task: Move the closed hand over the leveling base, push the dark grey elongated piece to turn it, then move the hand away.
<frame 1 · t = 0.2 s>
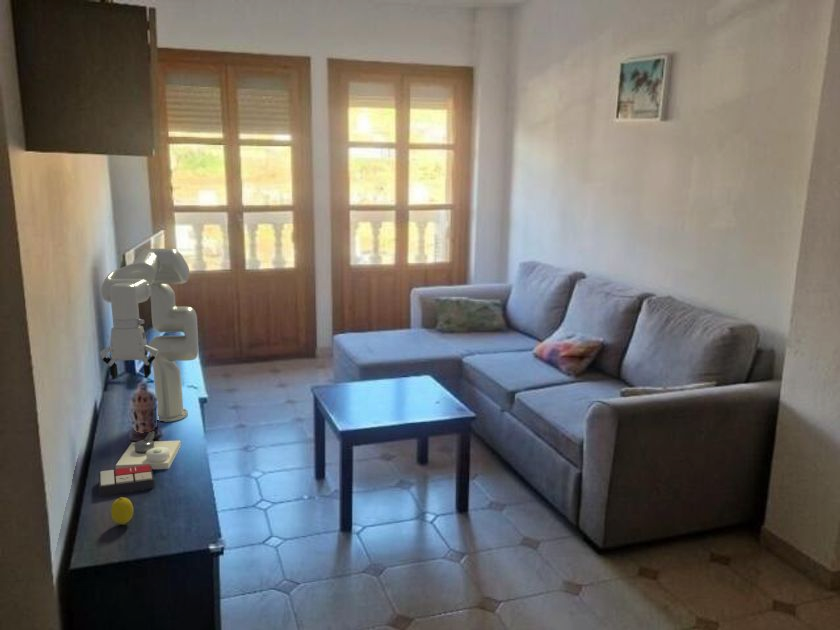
hand: (131, 377, 216), 30 cm above the tv stand, tool pointing down, fingers open, 9 cm apart
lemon: (123, 525, 187), on the tv stand
leveling base: (149, 458, 228), on the tv stand
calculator: (126, 486, 210), on the tv stand
dark grey elongated piece: (147, 442, 233), point 3 cm above the tv stand, hinge at 0.0°
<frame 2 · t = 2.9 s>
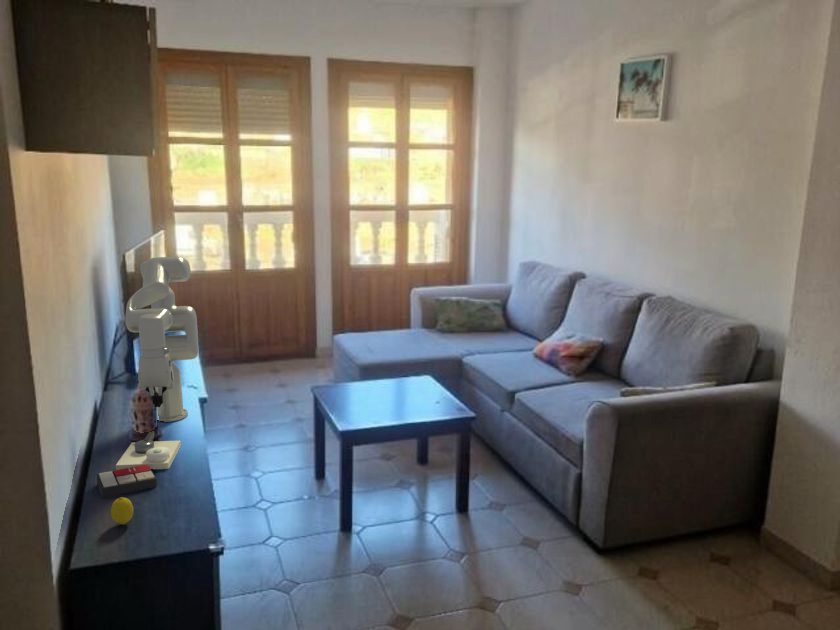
hand: (158, 405, 227), 17 cm above the tv stand, tool pointing down, fingers closed
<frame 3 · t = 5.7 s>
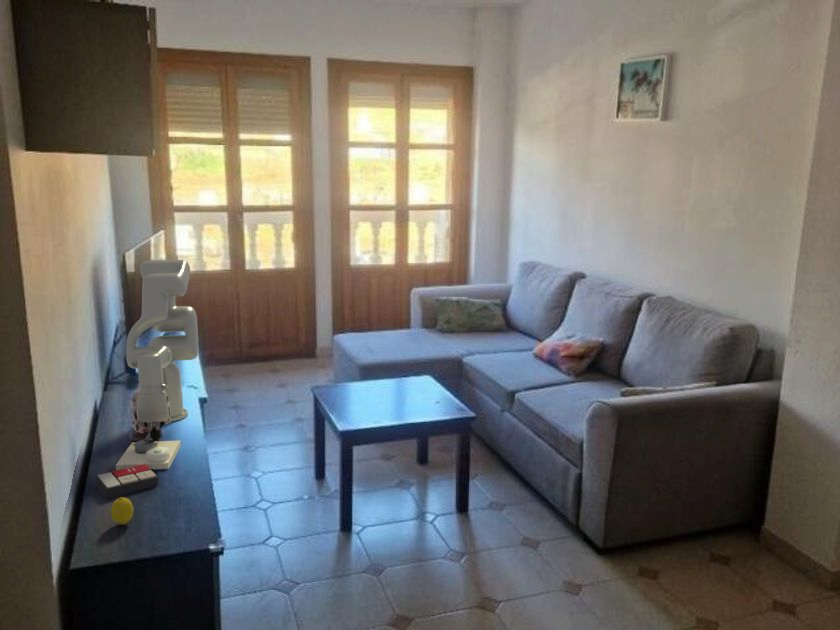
hand: (156, 439, 235), 3 cm above the tv stand, tool pointing down, fingers closed
dark grey elongated piece: (147, 442, 233), point 3 cm above the tv stand, hinge at 0.0°, touching gripper
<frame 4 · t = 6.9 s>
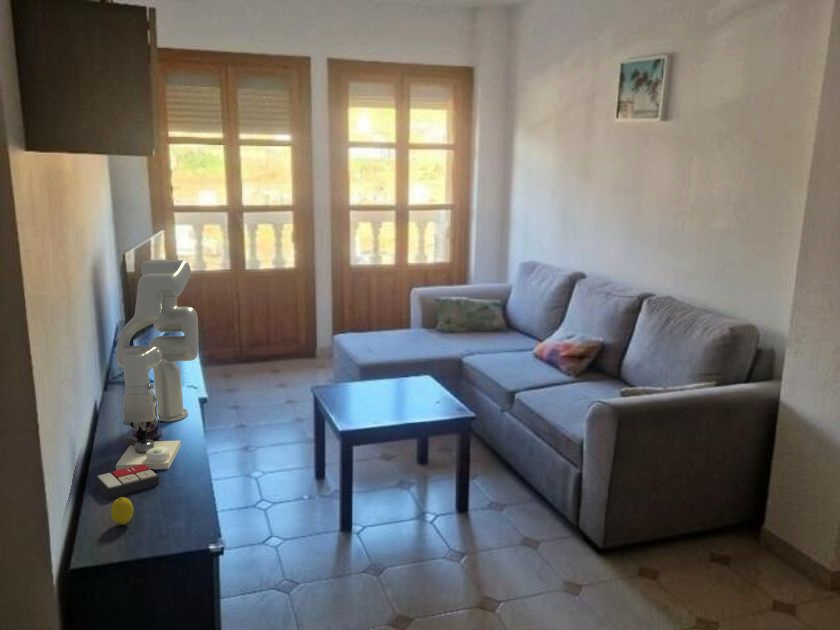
hand: (142, 440, 234), 3 cm above the tv stand, tool pointing down, fingers closed
dark grey elongated piece: (138, 443, 231), point 3 cm above the tv stand, hinge at 48.4°, touching gripper
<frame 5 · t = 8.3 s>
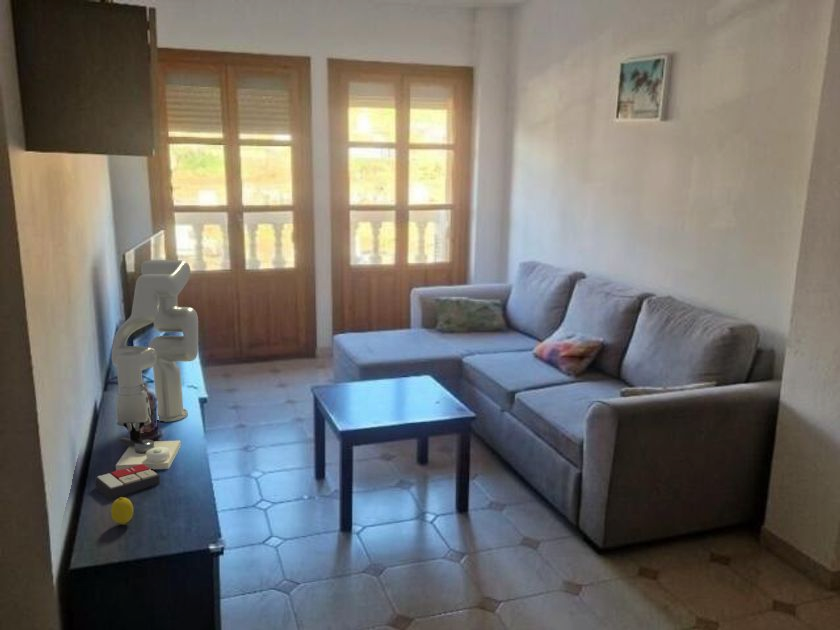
hand: (135, 440, 234), 3 cm above the tv stand, tool pointing down, fingers closed
dark grey elongated piece: (136, 444, 231), point 3 cm above the tv stand, hinge at 59.2°
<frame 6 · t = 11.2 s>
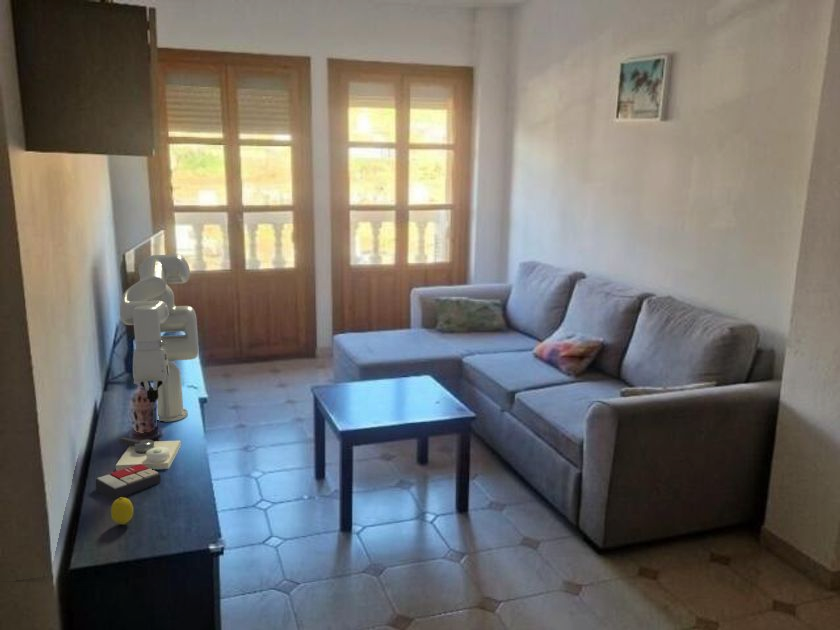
hand: (153, 401, 219), 21 cm above the tv stand, tool pointing down, fingers closed
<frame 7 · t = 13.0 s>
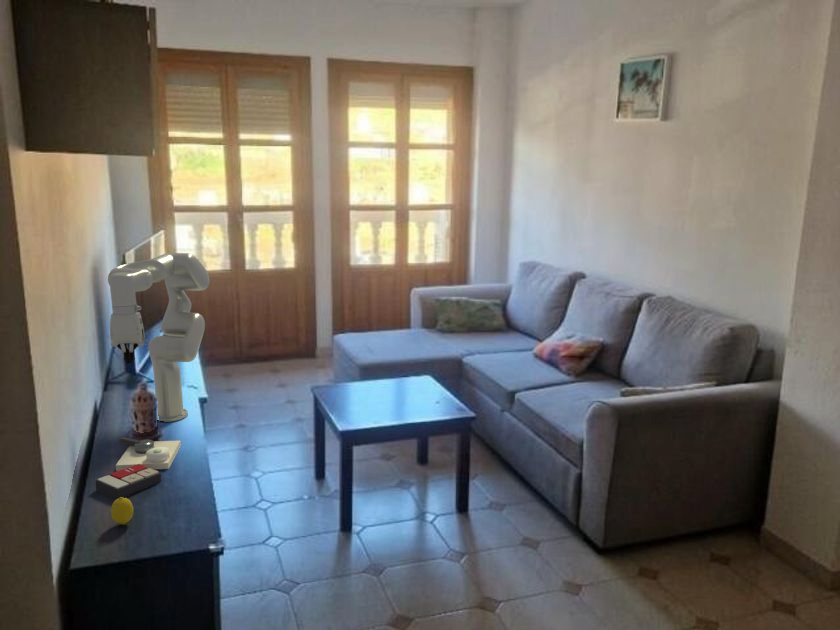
hand: (129, 362, 234), 29 cm above the tv stand, tool pointing down, fingers closed
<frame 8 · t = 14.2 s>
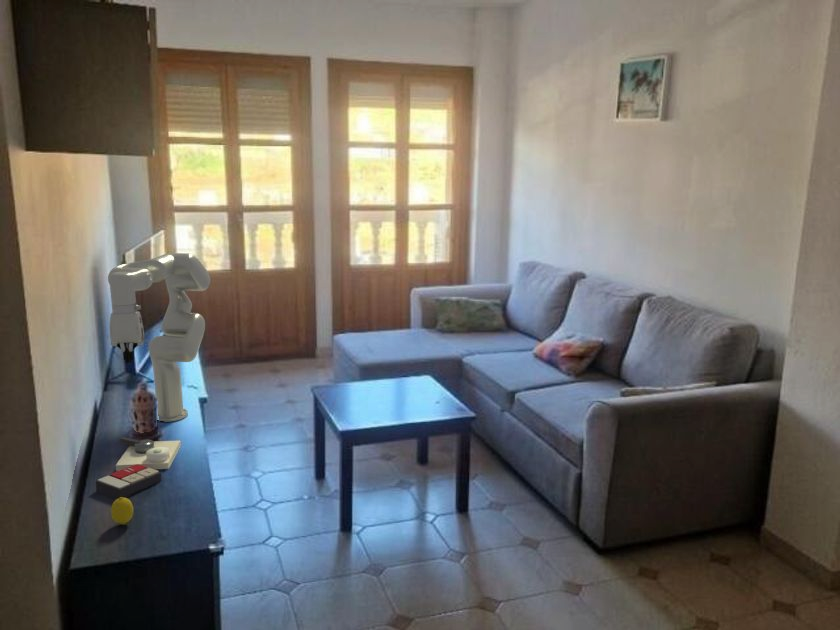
hand: (129, 361, 234), 29 cm above the tv stand, tool pointing down, fingers closed
at the end: dark grey elongated piece at +59° (first picture: +0°); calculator moved 1.4 cm from its start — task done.
